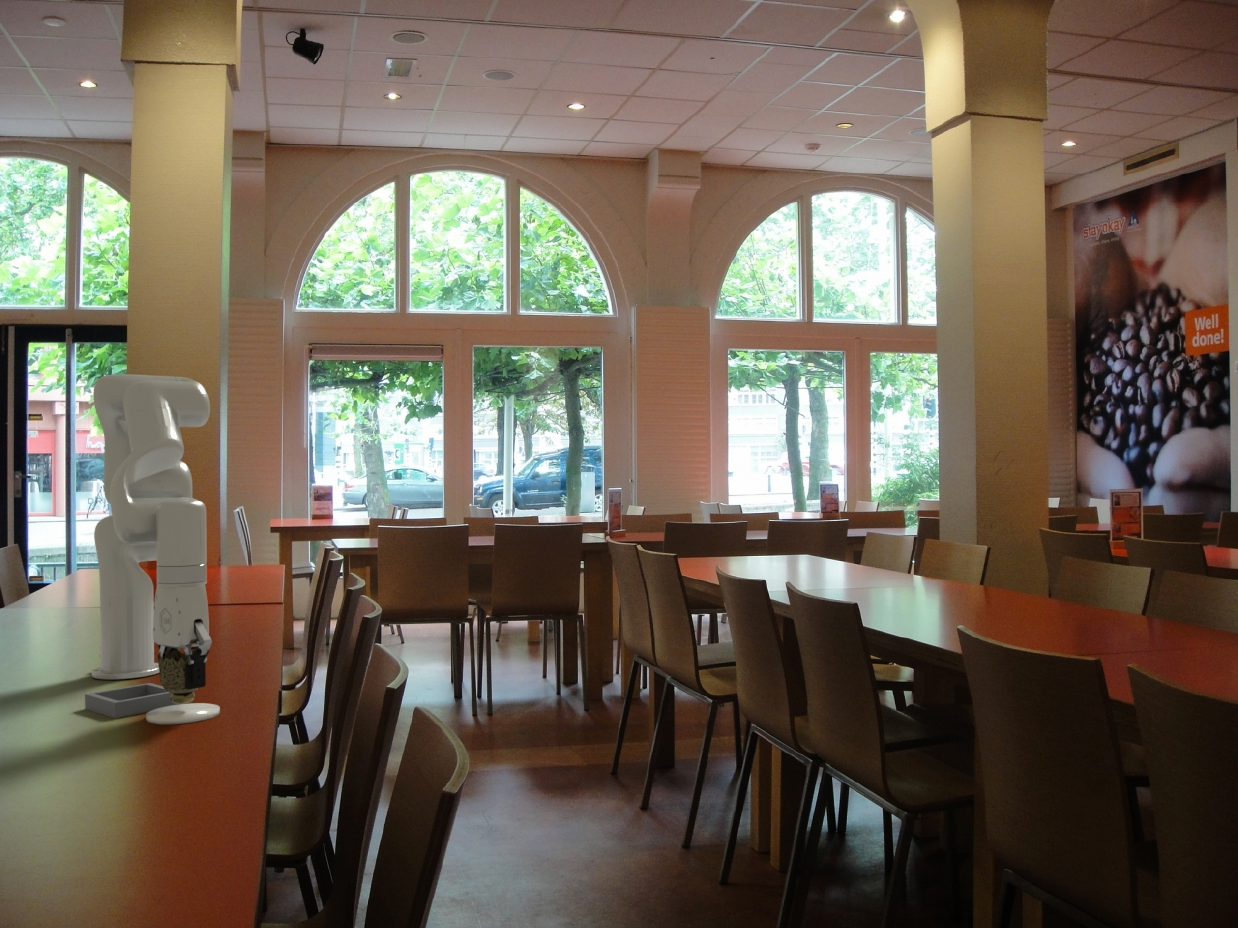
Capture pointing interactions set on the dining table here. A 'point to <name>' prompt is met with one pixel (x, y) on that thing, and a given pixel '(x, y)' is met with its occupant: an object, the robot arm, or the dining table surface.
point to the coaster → (183, 713)
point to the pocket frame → (128, 700)
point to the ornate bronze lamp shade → (175, 676)
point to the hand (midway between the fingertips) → (182, 683)
